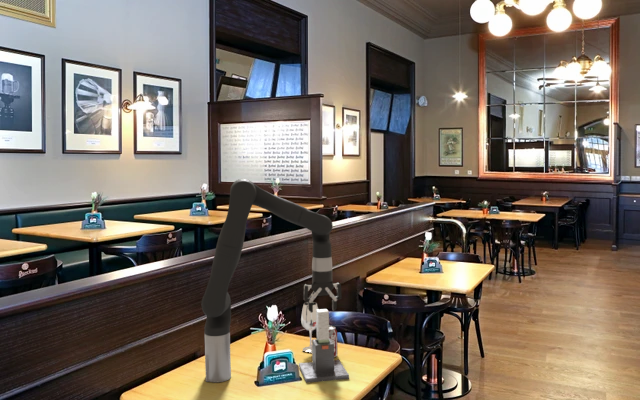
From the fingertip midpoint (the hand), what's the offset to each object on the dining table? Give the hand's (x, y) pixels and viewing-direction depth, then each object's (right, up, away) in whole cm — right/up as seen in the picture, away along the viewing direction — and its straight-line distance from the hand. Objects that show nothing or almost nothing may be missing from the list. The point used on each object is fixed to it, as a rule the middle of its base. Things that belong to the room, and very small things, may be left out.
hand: (322, 311), depth 215 cm
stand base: (0, -24, +2) cm, 24 cm away
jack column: (0, -16, +1) cm, 16 cm away
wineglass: (-5, -22, +27) cm, 35 cm away
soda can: (+3, -22, +20) cm, 30 cm away
